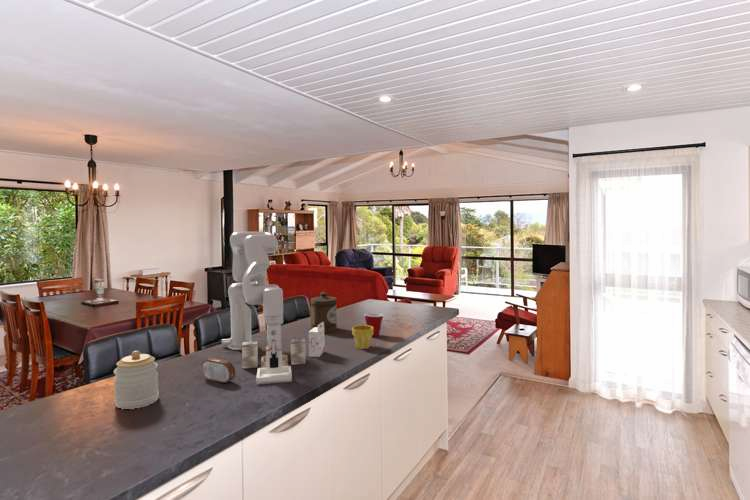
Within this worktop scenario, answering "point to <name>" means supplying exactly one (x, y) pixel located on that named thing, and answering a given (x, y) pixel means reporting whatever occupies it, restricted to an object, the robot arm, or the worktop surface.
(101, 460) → the worktop surface
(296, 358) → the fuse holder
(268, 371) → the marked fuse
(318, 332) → the ink cartridge box
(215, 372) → the tin
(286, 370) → the tray
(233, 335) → the robot arm
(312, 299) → the wooden container
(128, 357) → the jar
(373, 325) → the plastic cup
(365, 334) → the plant pot
